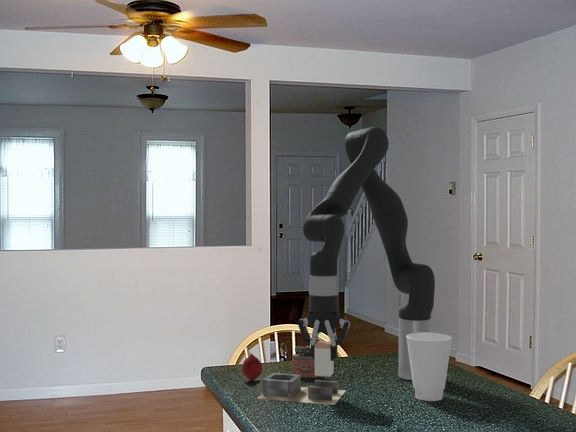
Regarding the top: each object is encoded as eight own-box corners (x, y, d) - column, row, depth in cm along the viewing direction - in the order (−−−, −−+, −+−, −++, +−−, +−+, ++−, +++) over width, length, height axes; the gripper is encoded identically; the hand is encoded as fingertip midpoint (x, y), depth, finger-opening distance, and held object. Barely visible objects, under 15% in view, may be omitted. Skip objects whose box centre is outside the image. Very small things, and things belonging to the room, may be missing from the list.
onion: (265, 379, 204) (265, 351, 204) (257, 384, 198) (257, 355, 198) (246, 377, 206) (246, 350, 206) (238, 382, 200) (238, 354, 200)
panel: (346, 396, 186) (346, 375, 186) (334, 410, 173) (334, 388, 173) (273, 390, 192) (273, 370, 192) (256, 404, 178) (256, 382, 178)
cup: (401, 401, 182) (402, 339, 181) (410, 389, 193) (410, 331, 192) (448, 405, 177) (449, 342, 177) (454, 393, 189) (455, 334, 188)
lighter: (320, 380, 203) (320, 345, 203) (320, 383, 200) (320, 348, 199) (292, 379, 204) (292, 345, 204) (291, 382, 200) (291, 347, 200)
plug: (333, 372, 182) (333, 341, 182) (330, 376, 178) (329, 344, 178) (318, 371, 183) (318, 341, 183) (314, 375, 179) (314, 344, 179)
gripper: (354, 291, 182) (354, 358, 182) (300, 290, 186) (300, 355, 186) (348, 295, 175) (348, 364, 175) (292, 293, 179) (293, 361, 179)
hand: (324, 359), depth 181 cm, fingers closed on plug, 4 cm apart
